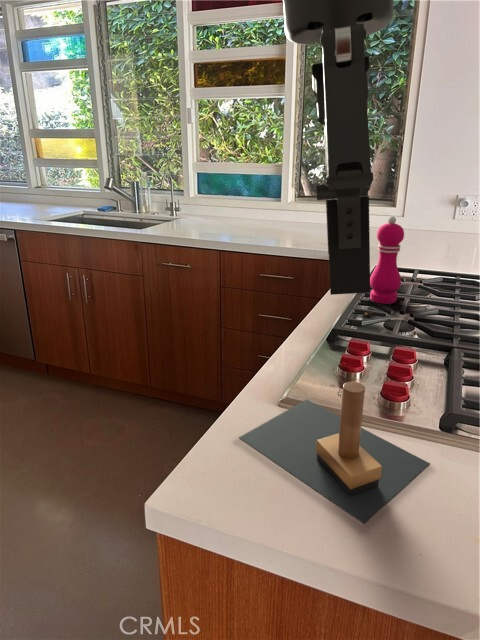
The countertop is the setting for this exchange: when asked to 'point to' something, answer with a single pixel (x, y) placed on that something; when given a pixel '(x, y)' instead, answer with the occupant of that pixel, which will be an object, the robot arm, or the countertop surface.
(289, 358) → the countertop surface
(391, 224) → the pepper mill
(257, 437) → the mat
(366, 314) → the nutmeg
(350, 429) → the scrub brush
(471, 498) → the countertop surface
